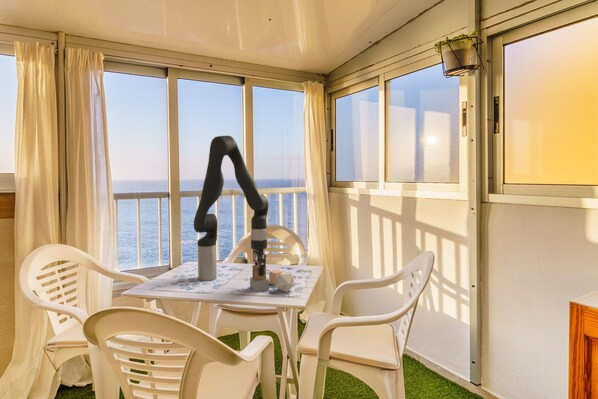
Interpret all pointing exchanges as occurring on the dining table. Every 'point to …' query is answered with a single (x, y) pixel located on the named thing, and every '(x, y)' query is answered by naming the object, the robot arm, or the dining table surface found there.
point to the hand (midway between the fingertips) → (259, 273)
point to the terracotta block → (273, 276)
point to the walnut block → (256, 273)
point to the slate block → (259, 285)
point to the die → (284, 282)
